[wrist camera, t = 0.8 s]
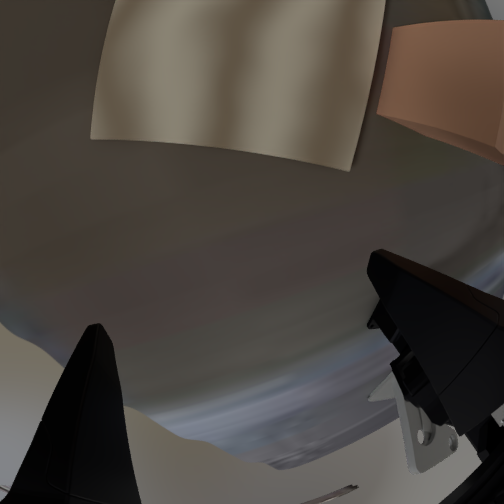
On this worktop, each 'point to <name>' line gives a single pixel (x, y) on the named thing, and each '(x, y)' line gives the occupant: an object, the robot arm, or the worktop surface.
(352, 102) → the birch board
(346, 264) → the worktop surface
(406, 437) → the phone holder
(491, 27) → the terracotta block
